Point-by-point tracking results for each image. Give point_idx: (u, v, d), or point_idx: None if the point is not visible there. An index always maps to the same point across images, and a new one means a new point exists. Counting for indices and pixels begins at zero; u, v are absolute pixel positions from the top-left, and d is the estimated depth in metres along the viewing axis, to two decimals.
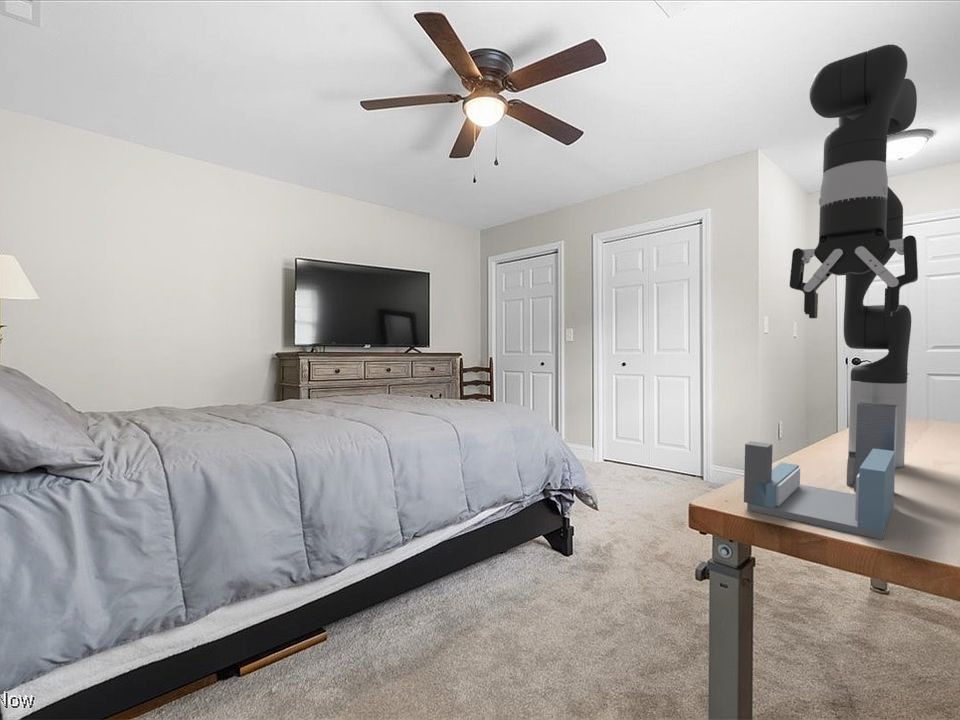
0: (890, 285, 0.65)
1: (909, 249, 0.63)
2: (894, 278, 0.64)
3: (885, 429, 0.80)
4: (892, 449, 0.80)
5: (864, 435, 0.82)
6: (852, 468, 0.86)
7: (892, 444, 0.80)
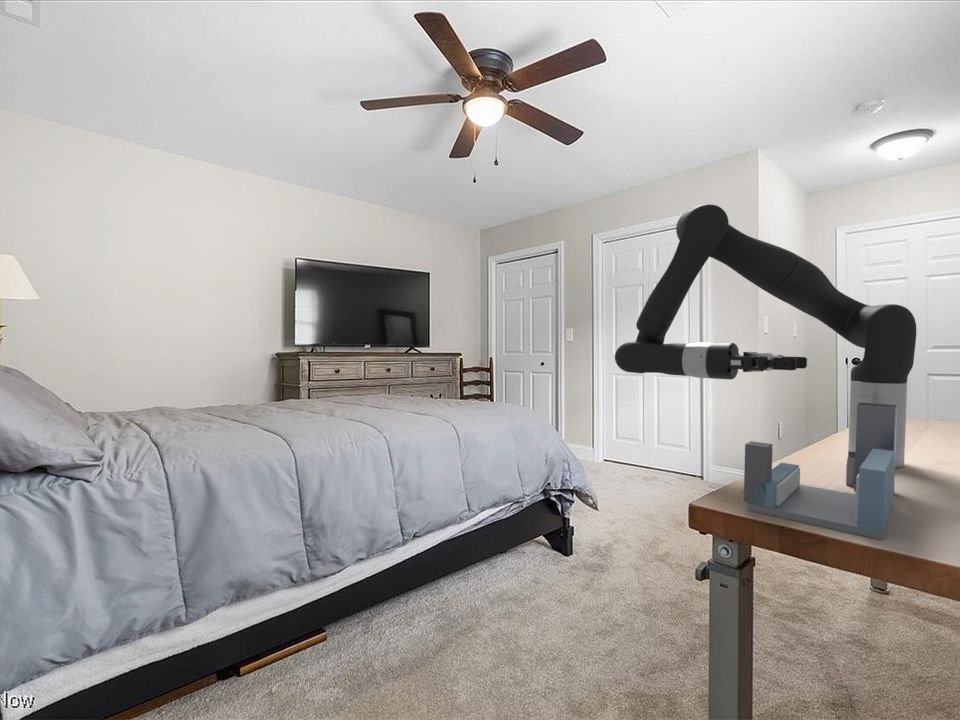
0: (770, 369, 0.89)
1: None
2: (764, 369, 0.90)
3: (885, 429, 0.80)
4: (892, 449, 0.80)
5: (864, 435, 0.82)
6: (852, 468, 0.86)
7: (892, 444, 0.80)
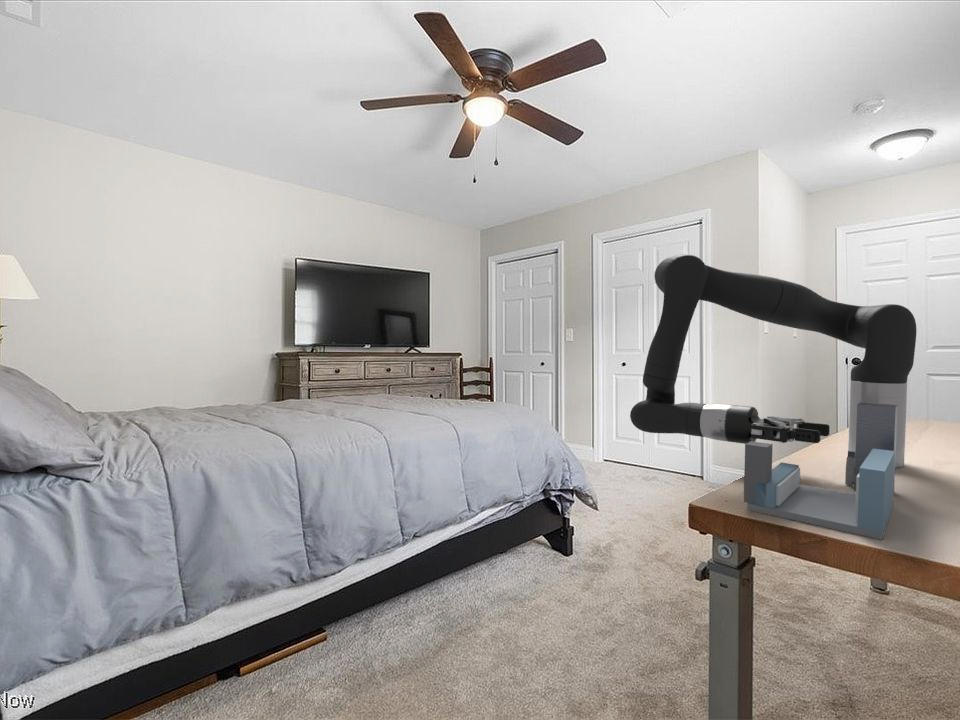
0: (792, 440, 0.87)
1: (761, 438, 0.89)
2: None
3: (885, 429, 0.80)
4: (892, 449, 0.80)
5: (864, 435, 0.82)
6: (851, 468, 0.86)
7: (892, 444, 0.80)
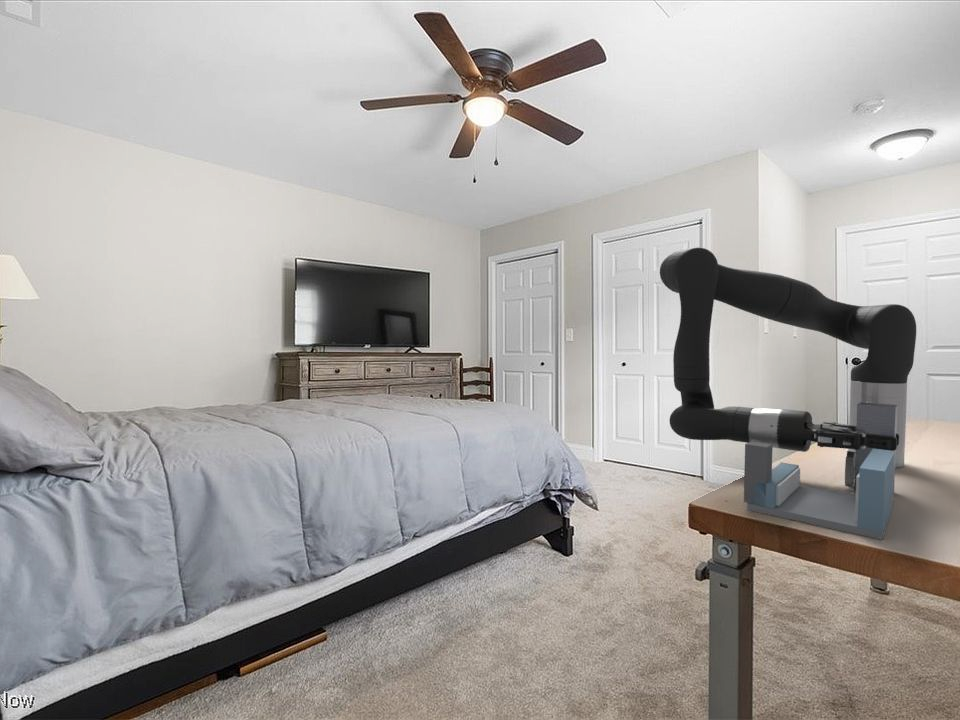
0: None
1: (830, 446, 0.82)
2: None
3: (885, 428, 0.80)
4: None
5: None
6: (850, 468, 0.86)
7: None
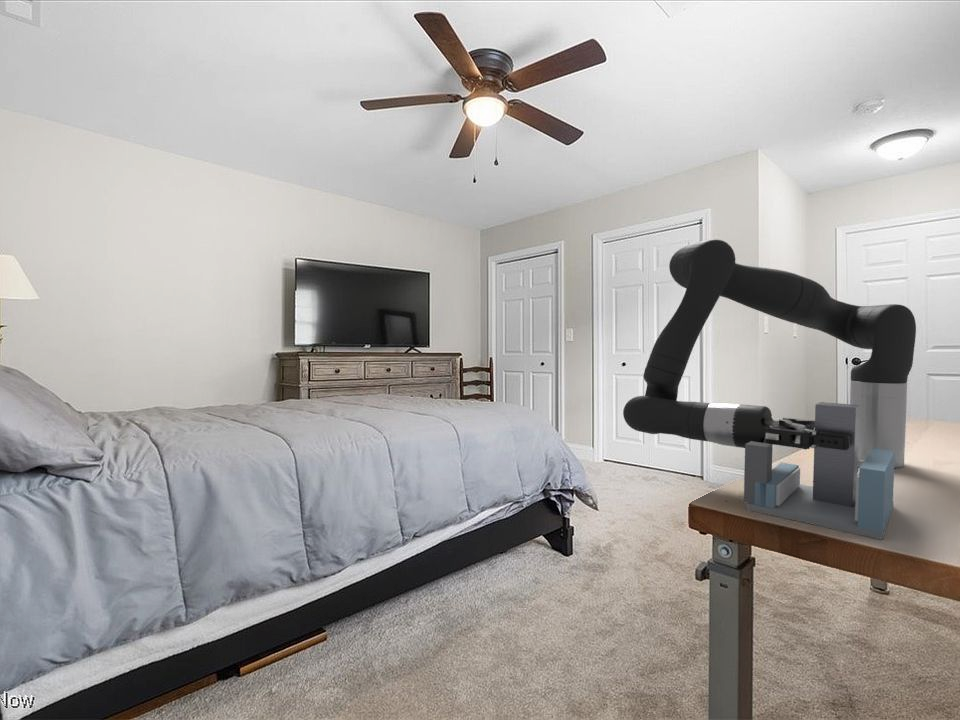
0: None
1: None
2: None
3: (845, 431, 0.73)
4: (852, 454, 0.72)
5: None
6: None
7: (852, 448, 0.72)
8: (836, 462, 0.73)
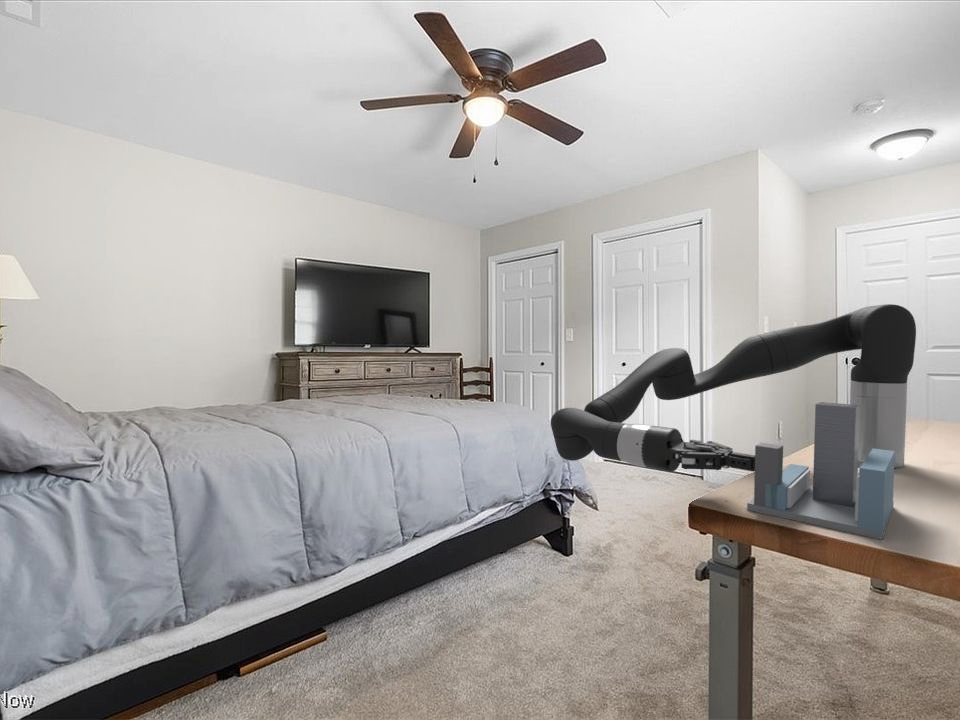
0: None
1: None
2: (721, 466, 0.77)
3: (845, 431, 0.73)
4: (852, 454, 0.72)
5: (823, 438, 0.75)
6: None
7: (852, 448, 0.72)
8: (836, 462, 0.73)
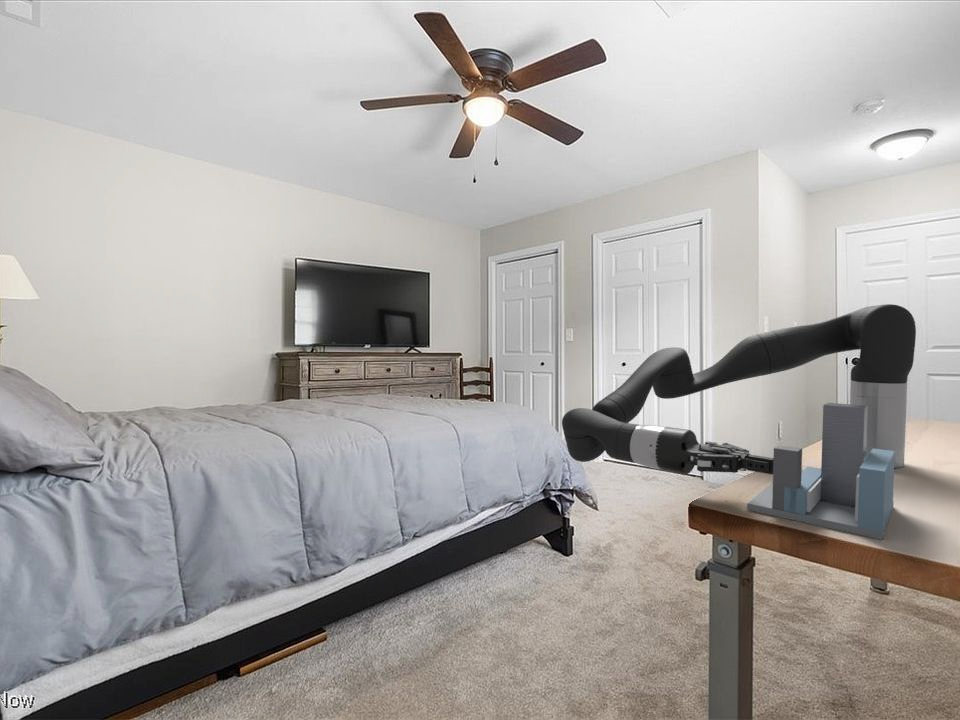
0: None
1: None
2: (737, 469, 0.75)
3: (854, 432, 0.72)
4: (861, 455, 0.71)
5: (831, 439, 0.74)
6: None
7: (861, 449, 0.71)
8: (844, 463, 0.73)
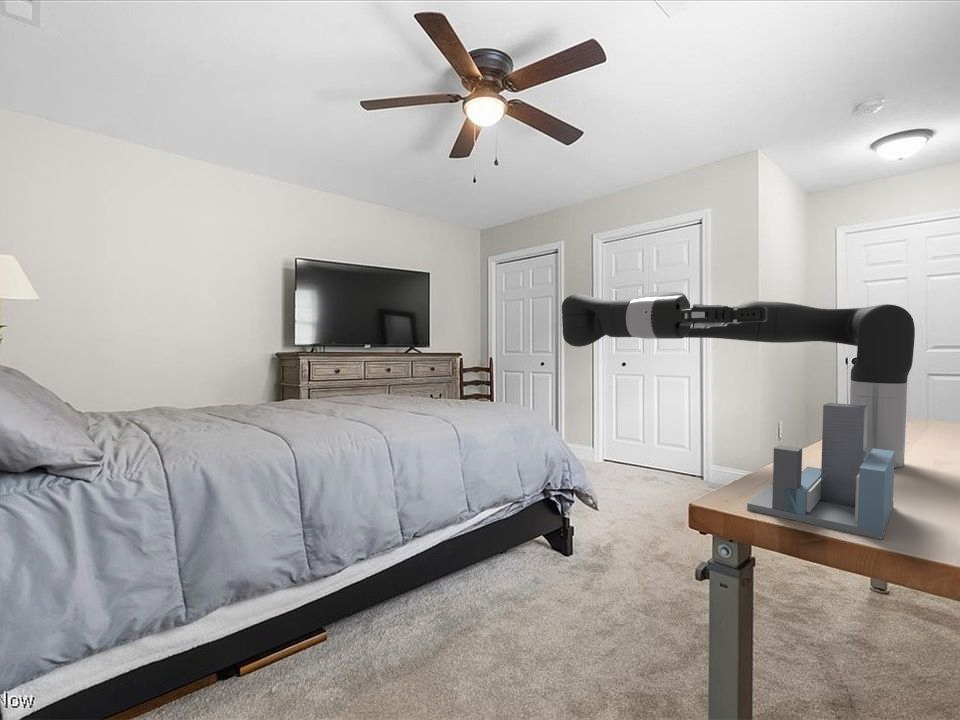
0: (735, 322, 0.78)
1: (702, 322, 0.77)
2: (730, 322, 0.78)
3: (854, 432, 0.72)
4: (861, 455, 0.71)
5: (831, 439, 0.74)
6: None
7: (861, 449, 0.71)
8: (844, 463, 0.73)
